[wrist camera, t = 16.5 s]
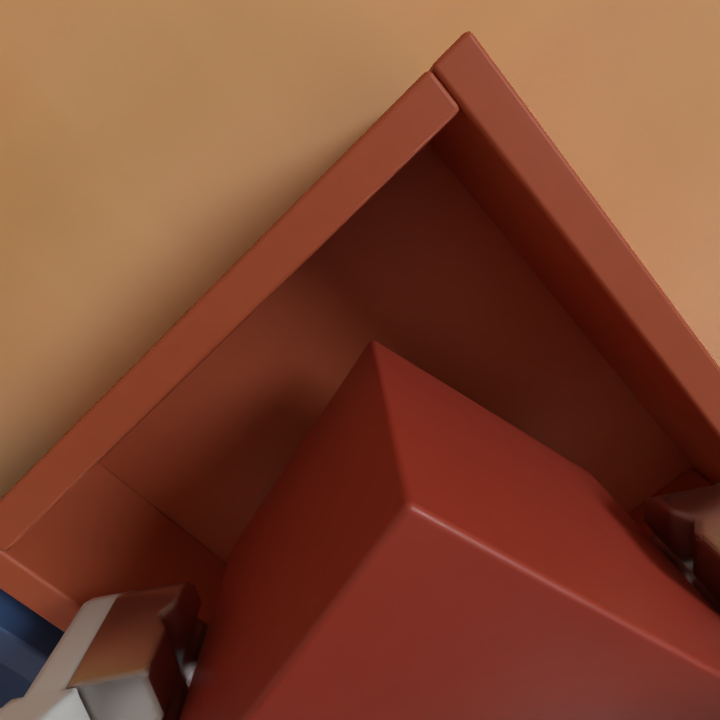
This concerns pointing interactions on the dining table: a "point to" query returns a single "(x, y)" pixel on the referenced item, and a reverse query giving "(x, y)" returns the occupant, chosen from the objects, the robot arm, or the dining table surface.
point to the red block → (447, 579)
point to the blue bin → (22, 646)
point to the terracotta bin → (387, 327)
